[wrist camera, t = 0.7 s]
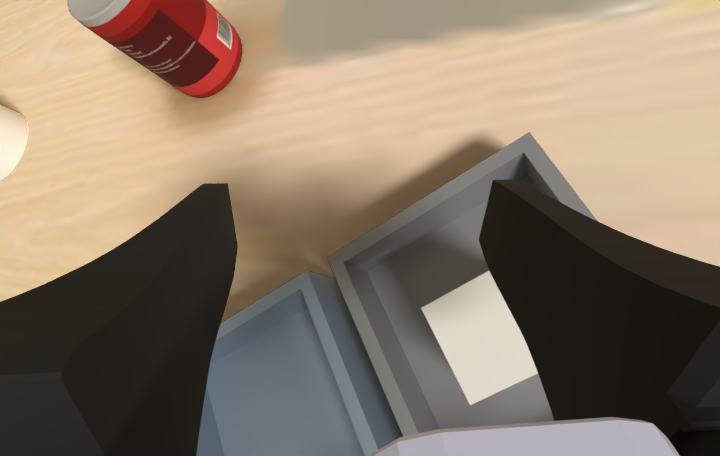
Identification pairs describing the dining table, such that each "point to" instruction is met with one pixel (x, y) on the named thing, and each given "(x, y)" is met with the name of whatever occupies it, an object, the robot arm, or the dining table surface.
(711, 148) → the dining table surface
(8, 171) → the cylinder with rectangular tab
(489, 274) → the cream block
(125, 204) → the dining table surface
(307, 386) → the slate blue bin
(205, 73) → the canned food
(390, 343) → the grey bin
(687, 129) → the dining table surface
